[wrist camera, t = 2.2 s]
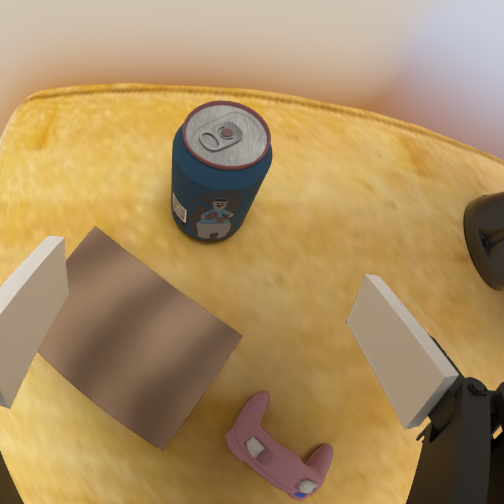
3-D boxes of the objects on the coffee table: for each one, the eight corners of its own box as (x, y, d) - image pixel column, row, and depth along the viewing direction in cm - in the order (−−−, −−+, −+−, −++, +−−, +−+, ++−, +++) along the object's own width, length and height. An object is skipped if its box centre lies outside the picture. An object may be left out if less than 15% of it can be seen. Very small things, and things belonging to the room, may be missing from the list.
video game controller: (226, 411, 26) (209, 454, 19) (262, 382, 26) (255, 421, 19) (299, 470, 25) (301, 517, 18) (336, 445, 25) (346, 490, 18)
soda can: (216, 170, 32) (239, 84, 21) (257, 222, 31) (300, 148, 20) (158, 201, 29) (153, 116, 18) (198, 260, 28) (213, 194, 17)
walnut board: (239, 336, 27) (242, 335, 26) (163, 446, 22) (162, 451, 21) (98, 232, 27) (95, 225, 26) (23, 331, 22) (16, 330, 21)
